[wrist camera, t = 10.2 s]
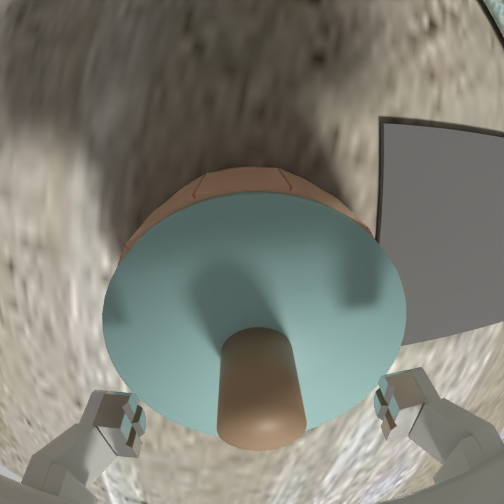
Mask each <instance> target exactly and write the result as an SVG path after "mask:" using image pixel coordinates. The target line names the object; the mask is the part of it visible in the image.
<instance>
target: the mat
mask: <svg viewBox="0 0 504 504" xmlns="http://www.w3.org/2000/svg"><path fill="white" fill-rule="evenodd" d="M377 243H378V244H379V245H380V246H381V247H382V249H383V250H384V251H385V252H386V253H387V255H388V256H389V258H390V259H391V261H392V263H393V265H394V266H395V268H396V270H397V272H398V274H399V277H400V280H401V283H402V285H403V289H404V294H405V300H406V325H405V331H404V336H403V340H402V343H401V346H404V345H409V344H414V343H418V342H423V341H428V340H432V339H437V338H441V337H446V336H450V335H454V334H458V333H462V332H466V331H470V330H474V329H477V328H481V327H485V326H488V325H492V324H495V323H499V322H502V321H504V138H503V137H498V136H492V135H486V134H480V133H474V132H467V131H460V130H452V129H444V128H435V127H426V126H415V125H403V124H388V123H381V173H380V199H379V217H378V231H377Z"/></svg>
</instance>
